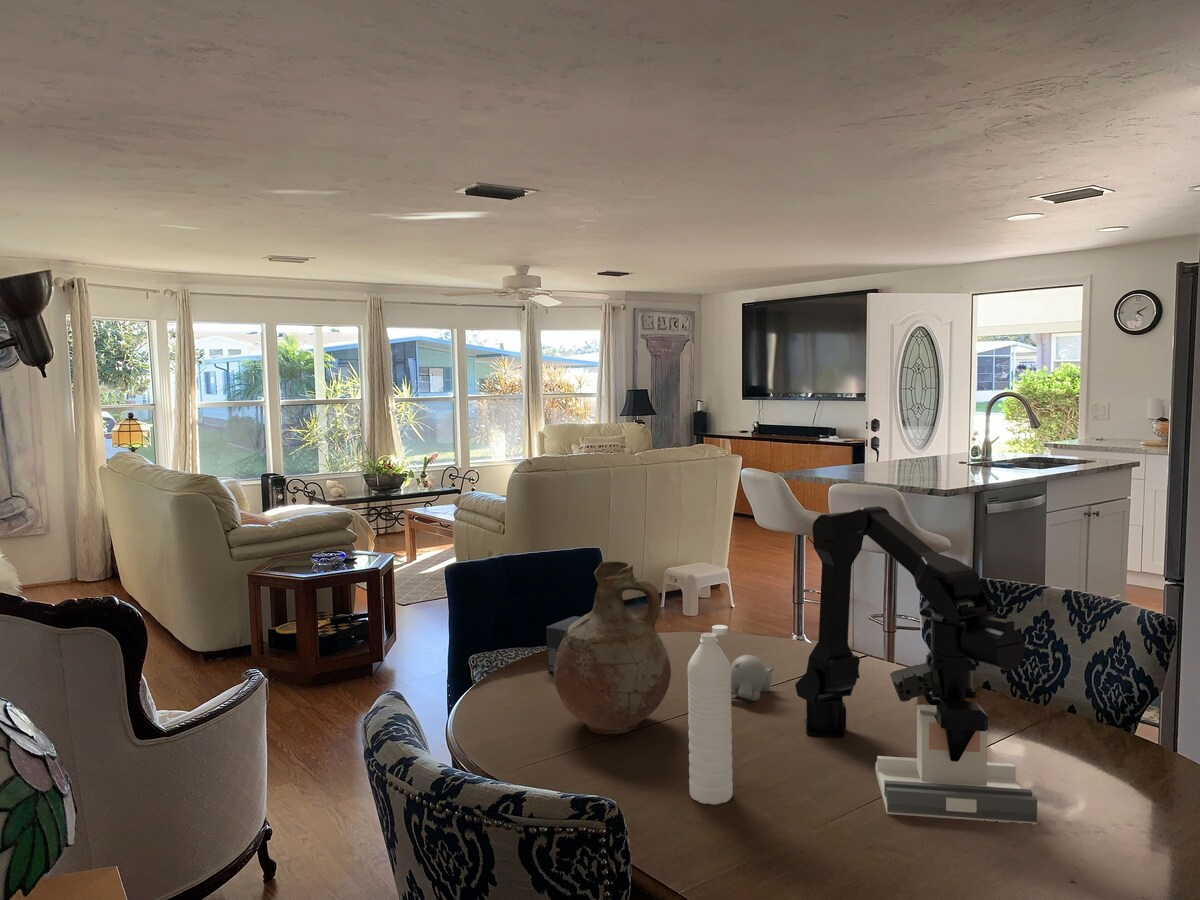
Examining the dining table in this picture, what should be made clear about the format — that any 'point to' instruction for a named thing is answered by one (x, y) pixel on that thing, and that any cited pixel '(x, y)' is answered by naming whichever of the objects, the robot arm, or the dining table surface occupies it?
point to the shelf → (954, 794)
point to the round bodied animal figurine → (750, 677)
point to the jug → (613, 657)
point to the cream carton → (936, 754)
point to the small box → (556, 639)
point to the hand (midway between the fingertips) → (950, 753)
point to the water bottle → (710, 721)
